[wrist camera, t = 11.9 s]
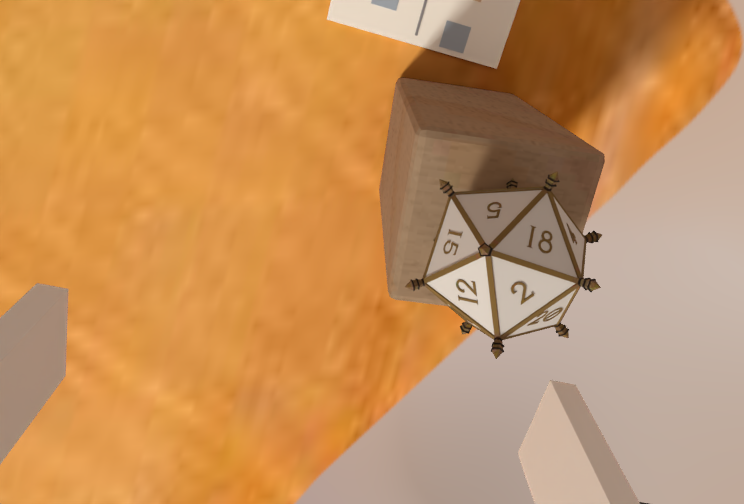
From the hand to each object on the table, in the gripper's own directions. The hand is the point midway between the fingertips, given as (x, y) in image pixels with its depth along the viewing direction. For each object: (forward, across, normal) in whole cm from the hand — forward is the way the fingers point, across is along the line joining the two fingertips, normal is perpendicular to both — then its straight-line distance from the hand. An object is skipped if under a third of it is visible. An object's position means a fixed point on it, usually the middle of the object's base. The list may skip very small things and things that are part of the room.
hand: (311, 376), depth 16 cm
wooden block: (+36, +9, -1) cm, 37 cm away
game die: (+16, +9, 0) cm, 18 cm away
